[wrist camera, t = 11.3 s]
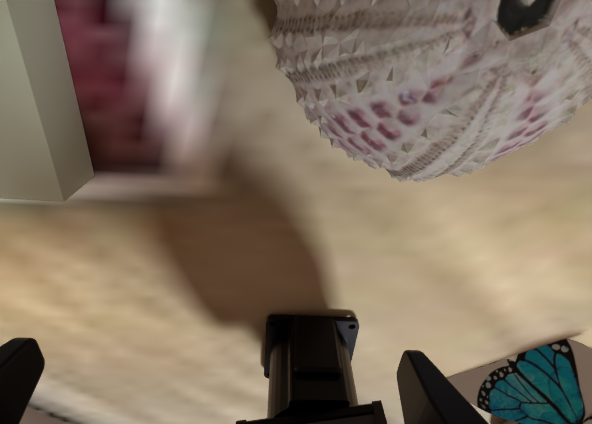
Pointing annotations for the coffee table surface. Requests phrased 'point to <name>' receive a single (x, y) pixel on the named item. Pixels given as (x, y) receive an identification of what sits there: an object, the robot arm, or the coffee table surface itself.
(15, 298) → the coffee table surface
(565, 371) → the decorative butterfly
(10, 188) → the sage base block
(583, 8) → the sea urchin shell
